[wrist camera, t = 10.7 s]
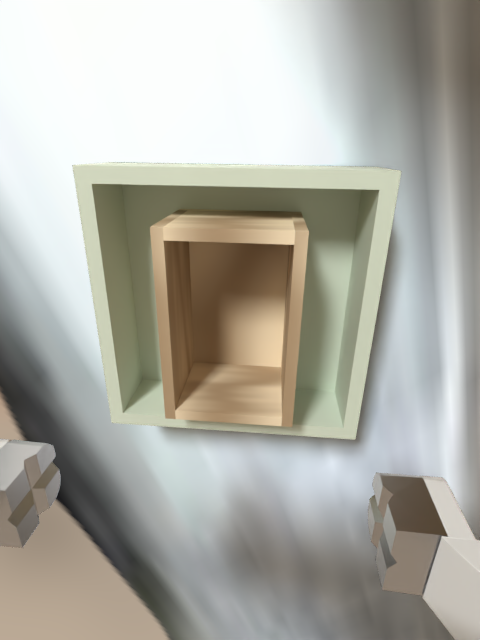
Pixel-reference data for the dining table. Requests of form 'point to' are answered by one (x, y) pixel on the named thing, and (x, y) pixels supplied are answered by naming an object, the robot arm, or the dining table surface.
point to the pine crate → (229, 313)
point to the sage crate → (319, 289)
